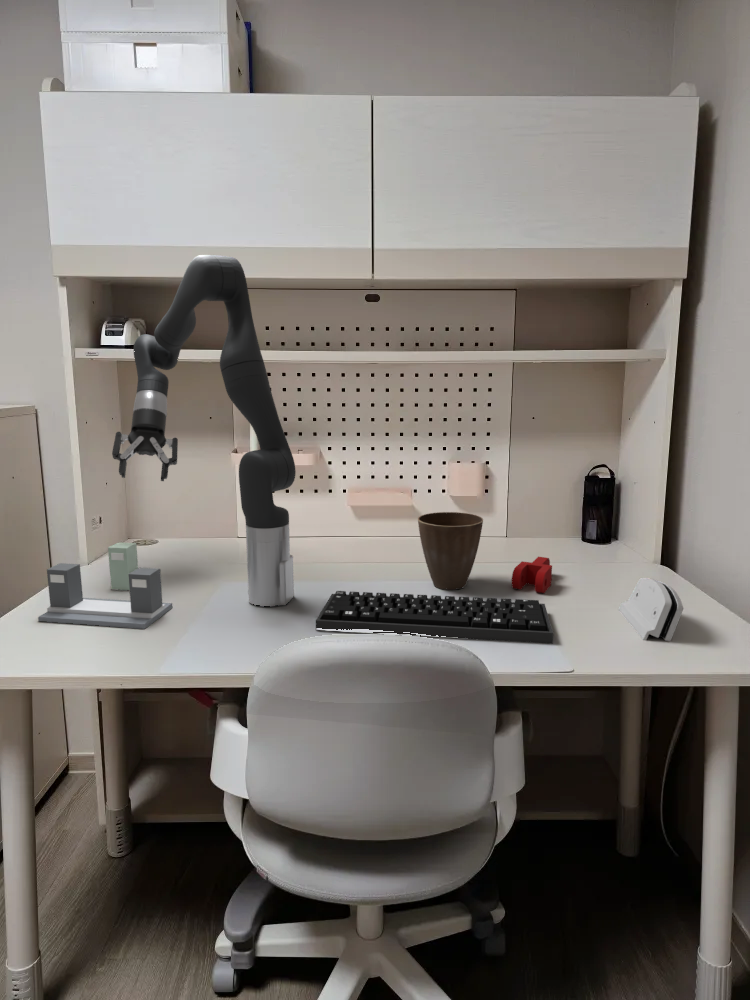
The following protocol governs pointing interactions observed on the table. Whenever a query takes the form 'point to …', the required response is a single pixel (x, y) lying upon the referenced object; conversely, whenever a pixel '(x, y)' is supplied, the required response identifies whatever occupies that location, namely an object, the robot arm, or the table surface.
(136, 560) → the block
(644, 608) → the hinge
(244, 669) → the table surface
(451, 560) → the plant pot
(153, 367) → the robot arm
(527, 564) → the mechanical linkage
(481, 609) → the computer keyboard
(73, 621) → the rail board
